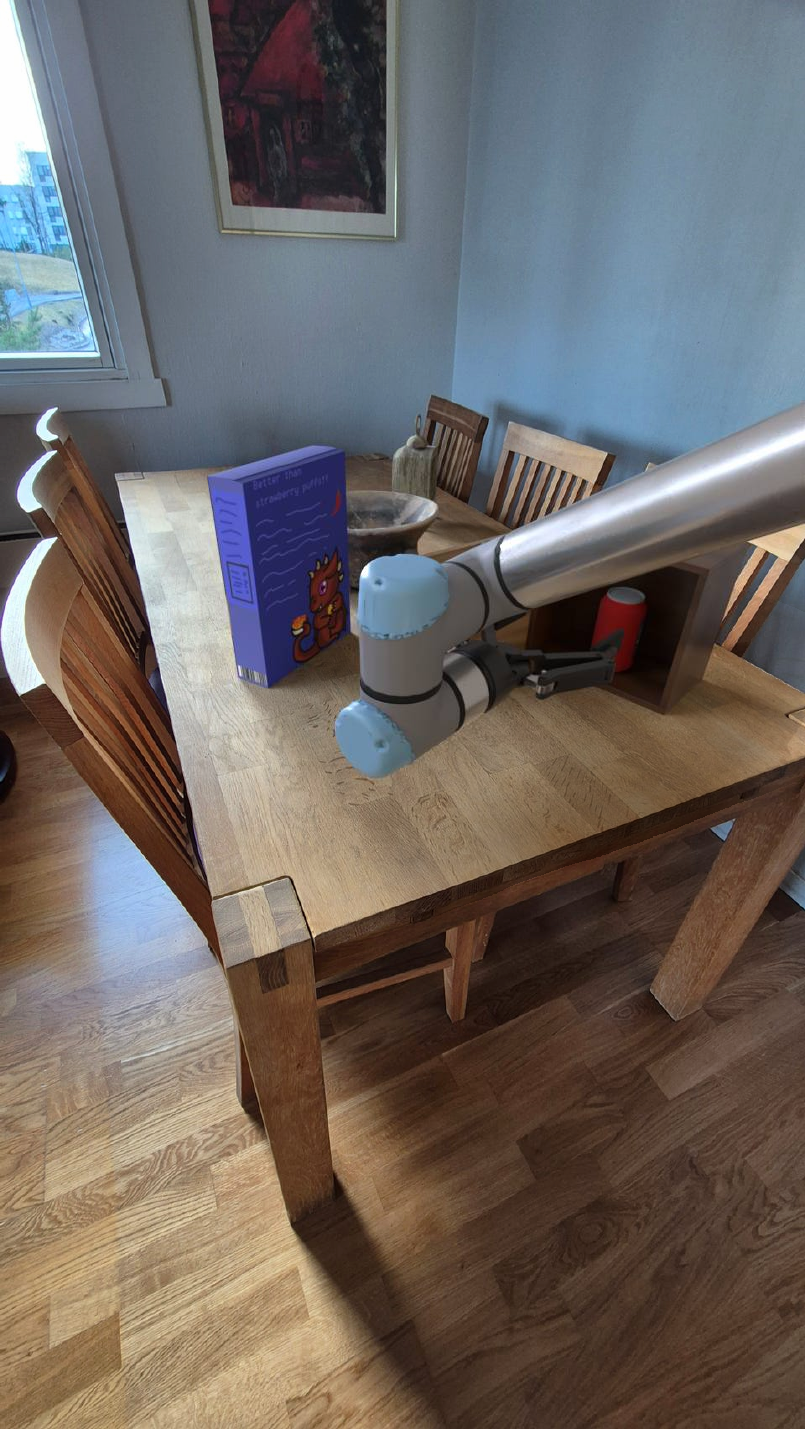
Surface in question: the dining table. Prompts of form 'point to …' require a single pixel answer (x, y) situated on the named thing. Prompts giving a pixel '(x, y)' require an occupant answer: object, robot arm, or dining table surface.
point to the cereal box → (283, 558)
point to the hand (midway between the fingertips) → (570, 621)
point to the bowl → (384, 526)
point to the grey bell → (416, 467)
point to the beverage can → (621, 621)
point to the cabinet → (652, 626)
